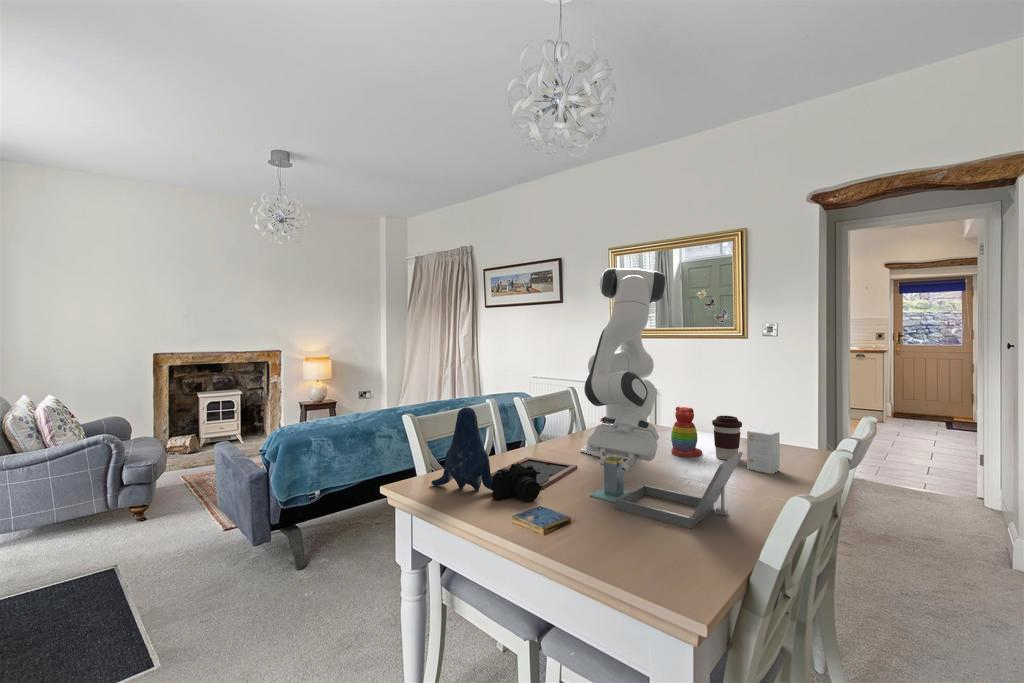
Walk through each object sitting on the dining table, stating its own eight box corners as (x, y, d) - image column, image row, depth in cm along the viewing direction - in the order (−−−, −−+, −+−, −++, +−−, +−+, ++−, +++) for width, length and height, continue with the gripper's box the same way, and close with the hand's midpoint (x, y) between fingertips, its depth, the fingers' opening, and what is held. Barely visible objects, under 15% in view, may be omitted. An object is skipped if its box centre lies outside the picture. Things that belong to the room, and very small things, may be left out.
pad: (589, 496, 139) (589, 494, 139) (607, 487, 146) (607, 485, 146) (621, 504, 132) (621, 502, 132) (638, 494, 140) (638, 493, 140)
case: (615, 508, 129) (615, 447, 128) (642, 492, 141) (642, 436, 140) (722, 537, 111) (722, 466, 110) (742, 516, 123) (743, 452, 123)
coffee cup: (746, 461, 172) (747, 419, 172) (718, 461, 172) (718, 419, 172) (734, 454, 182) (734, 414, 182) (707, 454, 182) (708, 414, 182)
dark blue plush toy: (421, 492, 143) (420, 408, 142) (439, 480, 154) (438, 402, 153) (500, 501, 135) (499, 412, 134) (513, 488, 145) (513, 406, 145)
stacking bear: (704, 453, 183) (704, 406, 183) (693, 459, 176) (693, 410, 175) (676, 448, 191) (676, 403, 190) (665, 454, 183) (665, 407, 183)
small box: (779, 471, 161) (780, 431, 160) (771, 474, 157) (771, 434, 156) (754, 465, 167) (755, 428, 167) (746, 469, 163) (746, 430, 163)
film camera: (506, 508, 130) (505, 475, 130) (488, 497, 138) (488, 466, 138) (552, 498, 138) (552, 466, 137) (533, 488, 146) (533, 458, 146)
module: (604, 494, 139) (604, 459, 139) (611, 490, 142) (611, 456, 142) (616, 497, 136) (616, 461, 136) (623, 493, 139) (623, 458, 139)
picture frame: (542, 491, 144) (577, 470, 166) (542, 484, 144) (577, 464, 166) (487, 480, 155) (526, 462, 176) (487, 474, 155) (526, 456, 176)
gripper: (594, 416, 150) (577, 454, 143) (657, 425, 137) (642, 467, 130) (602, 428, 154) (585, 466, 147) (664, 437, 141) (649, 479, 134)
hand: (612, 466), depth 138 cm, fingers open, 5 cm apart
